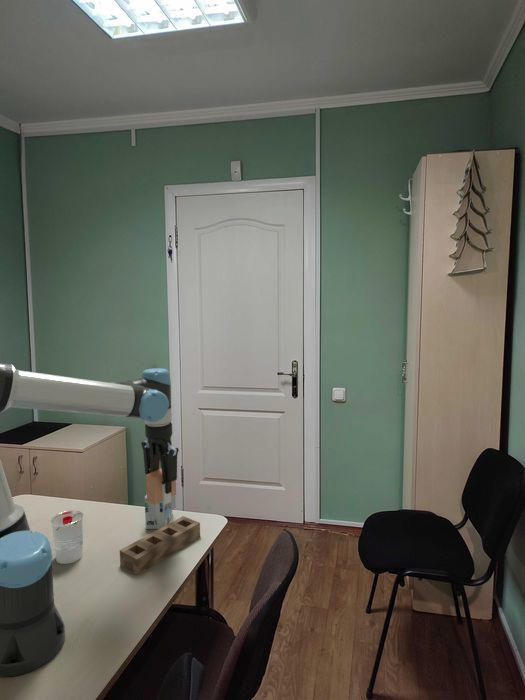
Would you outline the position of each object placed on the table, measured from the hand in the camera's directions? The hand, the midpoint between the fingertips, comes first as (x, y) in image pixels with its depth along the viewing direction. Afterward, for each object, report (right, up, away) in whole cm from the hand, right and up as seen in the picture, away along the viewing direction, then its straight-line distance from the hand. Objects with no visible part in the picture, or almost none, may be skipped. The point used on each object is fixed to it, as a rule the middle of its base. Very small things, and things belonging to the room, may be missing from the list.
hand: (161, 501), depth 130 cm
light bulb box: (-5, -13, +19) cm, 23 cm away
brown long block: (0, -15, +2) cm, 15 cm away
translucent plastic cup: (-26, -16, -2) cm, 31 cm away
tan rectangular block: (0, -3, 0) cm, 3 cm away
